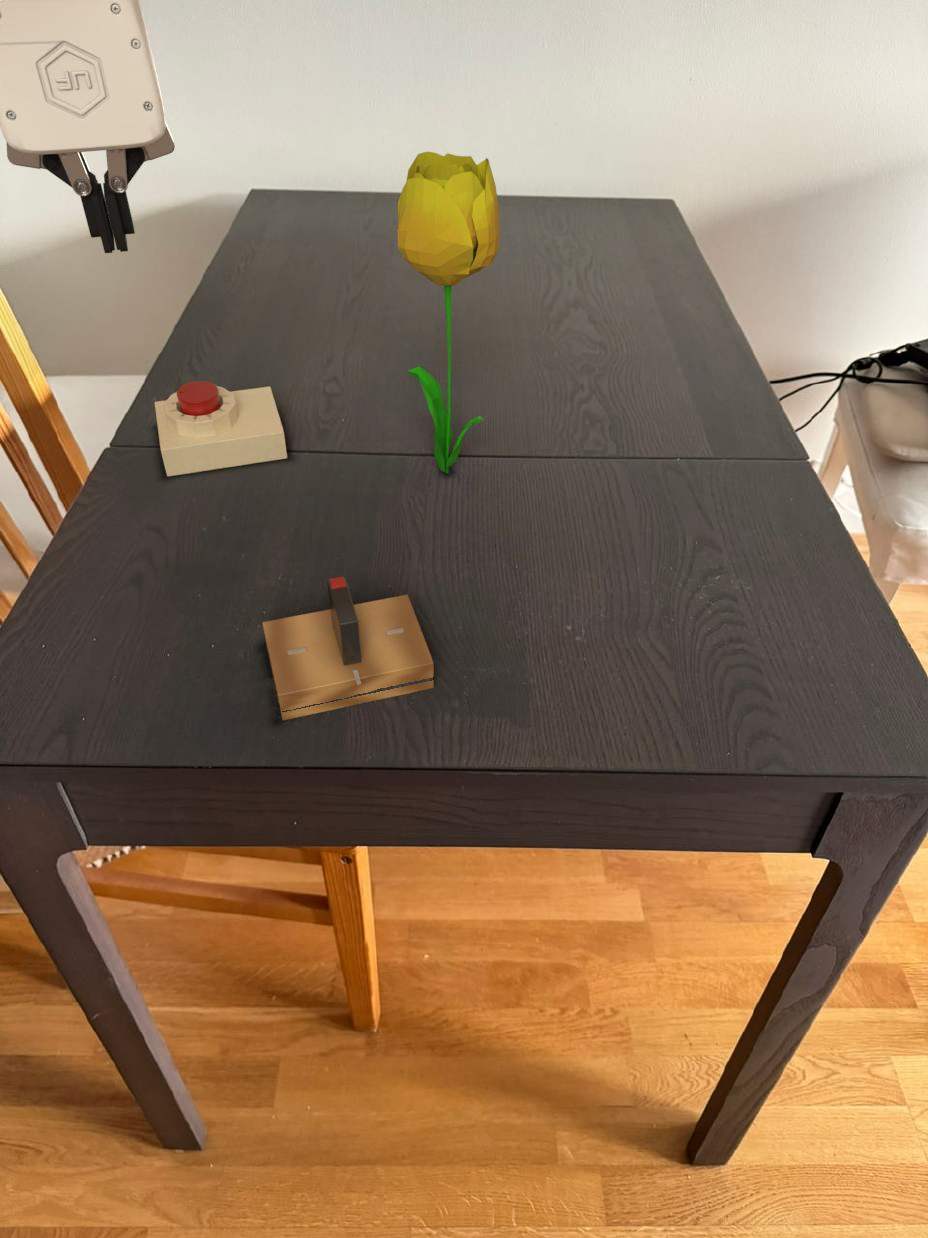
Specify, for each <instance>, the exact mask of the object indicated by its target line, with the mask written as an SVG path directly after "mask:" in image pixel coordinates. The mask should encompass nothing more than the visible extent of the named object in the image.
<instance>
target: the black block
mask: <svg viewBox="0 0 928 1238" xmlns="http://www.w3.org/2000/svg"><path fill="white" fill-rule="evenodd" d="M326 583H327V590H328V599H329V601H328V602H329V608H330V610H331V619H332V624H333V628H334V632H335V635H336V639H337V643H338V646H339V650H340V654H341V657H342V661H343V665H350V664H355V663H360V662H361V649H360V637H359V624H358V619H357V615H356V612H355V609H354V605H355V604H354V602H353V599H352V596H351V592H350V589H349V586H348V582H347V579H346V577H344V576H339V577H333V578H329V579H328V580H327V581H326Z"/></svg>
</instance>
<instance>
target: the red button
mask: <svg viewBox="0 0 928 1238" xmlns="http://www.w3.org/2000/svg"><path fill="white" fill-rule="evenodd" d="M217 386H218V385H216V384H215V383H213V382H210V381H205V380H195V381H191V382H187V383H185V384H182V385H181V386H180V387H179V388H178V389H177V391H176V392H177V398H178V402H179V407H180V411H181V412H182V413H183V414H184V415H191V416H202V415H208V414H210V413H213V412H215V411H217V410H219V409H220V407H221V403H220V397H219V392H218V388H217Z"/></svg>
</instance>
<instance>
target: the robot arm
mask: <svg viewBox="0 0 928 1238" xmlns="http://www.w3.org/2000/svg"><path fill="white" fill-rule="evenodd" d="M143 13H144V12H143V10H142V6H141V3H140V0H0V130H1V132H2V135H3V138H4V140H5V141H6V157H7V160H8V161H9V163H11V164H12V165H14V166H19V167H26V168H31V169H36V170H37V169H38V170H41V169H42V170H47V172H49V173H51V174H52V175H54V176H55V177H56V178H58V179H59V180H61V181H62V182H63V183H65V184H67V185H68V186H69V187H70V188H72V190H73V191H74V193H75V194H76V195H77V196H80V200H81V205H82V208H83V212H84V216H85V219H86V223H87V227H88V232H89V234H90V237H91V238H100V240H101V243H102V244H101V245H102V247H103V251H104V254H112V253H113V251H116V250H117V251H120V252H121V253H122V252H128V251H129V248H128V239H127V235H134V234H135V235H136V232H135V225H134V221H133V217H132V212H131V208H130V203H129V199H128V195H127V190H128V187H129V186H128V185H130V183H131V181H132V180H133V178H134V177H135V176H136V174H137V173H138V172H139V170H140V169H141V167H142V166H143V164H144V163H145V162H148V161H153V160H155V159H158V158H161V157H164V156H168V155H170V154H172V153H174V151H175V141H174V138H173V135H172V133H171V130H170V129H169V126H168V124H167V122H166V114H165V107H164V100H163V96H162V91H161V85H160V80H159V77H158V71H157V67H156V63H155V58H154V53H153V51H152V46H151V42H150V37H149V33H148V29H147V24H146V21H145V17H144V14H143ZM100 151H101V152H102V151H105V153H106V154H105V155H106V156H105V157H106V164H107V165H106V166H107V170H105V172H104V174H103V179H104V182H102V183H100V182H98V179H97V177H96V175H95V174H94V173H92V172H91V170H90V168H89V164H88V162H87V160H86V157H85V155H84V153H85V152H88V153H89V152H100Z"/></svg>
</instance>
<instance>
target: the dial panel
mask: <svg viewBox="0 0 928 1238" xmlns="http://www.w3.org/2000/svg"><path fill="white" fill-rule="evenodd" d="M353 605H354V609H355V612H356V615H357V619H358V624H359V637H360V649H361V662H360V663H355V664H350V665H343V661H342V657H341V654H340V650H339V646H338V643H337V639H336V635H335V632H334V628H333V624H332V619H331V610H330V609H325V610H319V611H315V612H309V613H303V614H299V615H293V616H288V617H283V618H282V617H281V618H278V619H271V620H267V621H262V623H261V624H262V629H263V634H264V641H265V646H266V650H267V654H268V659H269V664H270V669H271V675H272V679H273V683H274V687H275V693H276V697H277V701H278V707H279V711H280V716H281V720H282V721H287V720H293V719H297V718H301V717H306V716H311V715H315V714H319V713H326V712H328V711H329V712H330V711H334V710H339V709H343V708H348V707H352V706H357V705H362V704H367V703H371V702H375V701H381V700H385V699H390V698H394V697H399V696H404V695H408V694H412V693H417V692H421V691H426V690H427V691H428V690H432V689H434V687H435V686H434V685H435V681H434V680H435V679H434V680H432V681H427V682H423V683H418V684H413V685H409V686H404V687H399V688H394V689H390V690H385V691H380V692H376V693H371V694H366V695H362V696H357V697H352V698H348V699H344V698H347V697H351V696H354V695H357V694H363V693H368V692H371V691H374V690H377V689H380V688H387V687H390V686H396V685H399V684H405V683H408V682H414V681H420V680H423V679H429V678H433V677H435V676H434V675H435V674H434V673H435V670H434V669H435V666H434V665H435V663H434V660H433V657H432V655H431V652H430V649H429V647H428V645H427V641H426V638H425V636H424V633H423V631H422V629H421V625H420V623H419V620H418V617H417V615H416V613H415V609H414V608H413V607H414V606H413V605H412V602H411V600H410V597H409V594H402V595H398V596H392V597H387V598H381V599H377V600H371V601H368V602H362V603H356V604H353ZM276 691H277V692H276ZM336 699H343V700H338V701H334V702H329V701H332V700H336ZM325 702H329V703H325ZM320 703H324V704H320ZM313 704H320V705H315V706H310V707H306V708H301V707H305V706H309V705H313ZM279 705H280V706H279ZM296 708H301V709H296ZM293 709H296V710H293ZM286 710H292V711H287V712H282V711H286Z"/></svg>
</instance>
